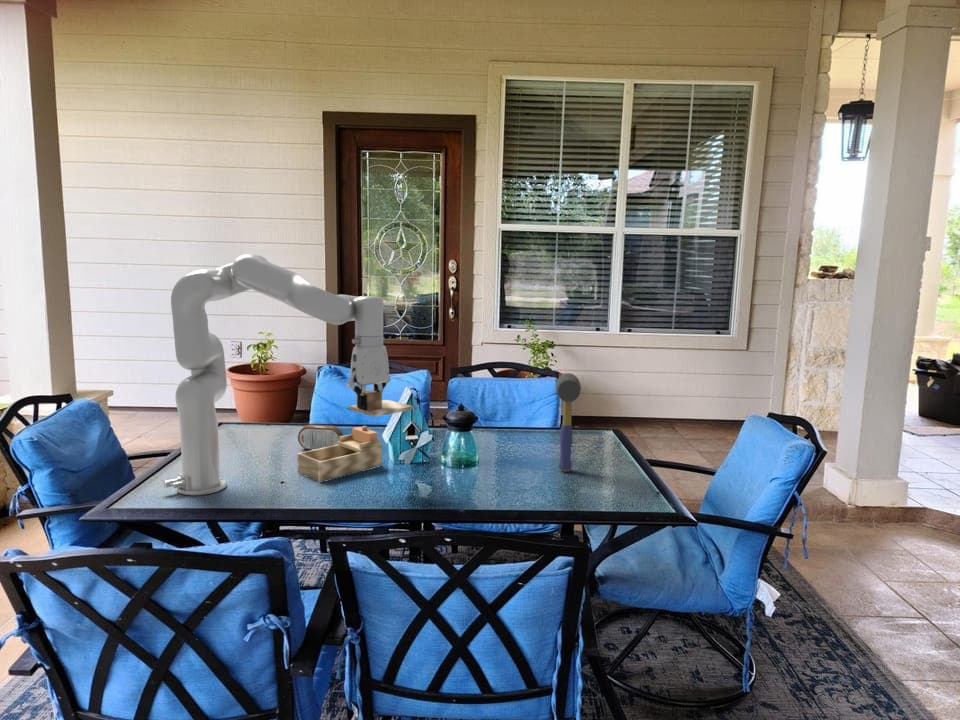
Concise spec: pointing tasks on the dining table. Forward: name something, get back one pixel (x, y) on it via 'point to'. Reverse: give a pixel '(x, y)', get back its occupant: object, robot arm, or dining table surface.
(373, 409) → the lid
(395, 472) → the dining table surface
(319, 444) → the tin
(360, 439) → the peach boxy piece
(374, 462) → the toolbox
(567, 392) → the rubber mallet
